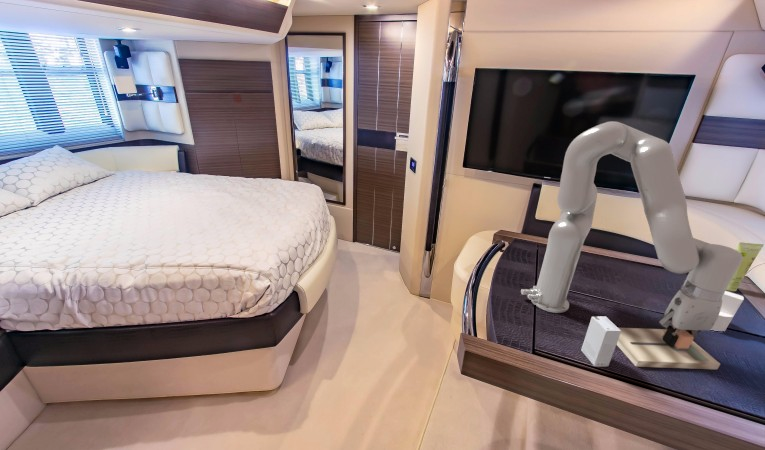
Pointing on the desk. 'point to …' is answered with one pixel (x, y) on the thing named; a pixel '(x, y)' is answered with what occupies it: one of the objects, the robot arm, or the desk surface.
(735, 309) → the cylinder with rectangular tab
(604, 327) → the skincare box
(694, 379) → the desk surface
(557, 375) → the desk surface
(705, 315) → the robot arm
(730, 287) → the tube
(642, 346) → the fader board
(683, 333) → the fader tab
